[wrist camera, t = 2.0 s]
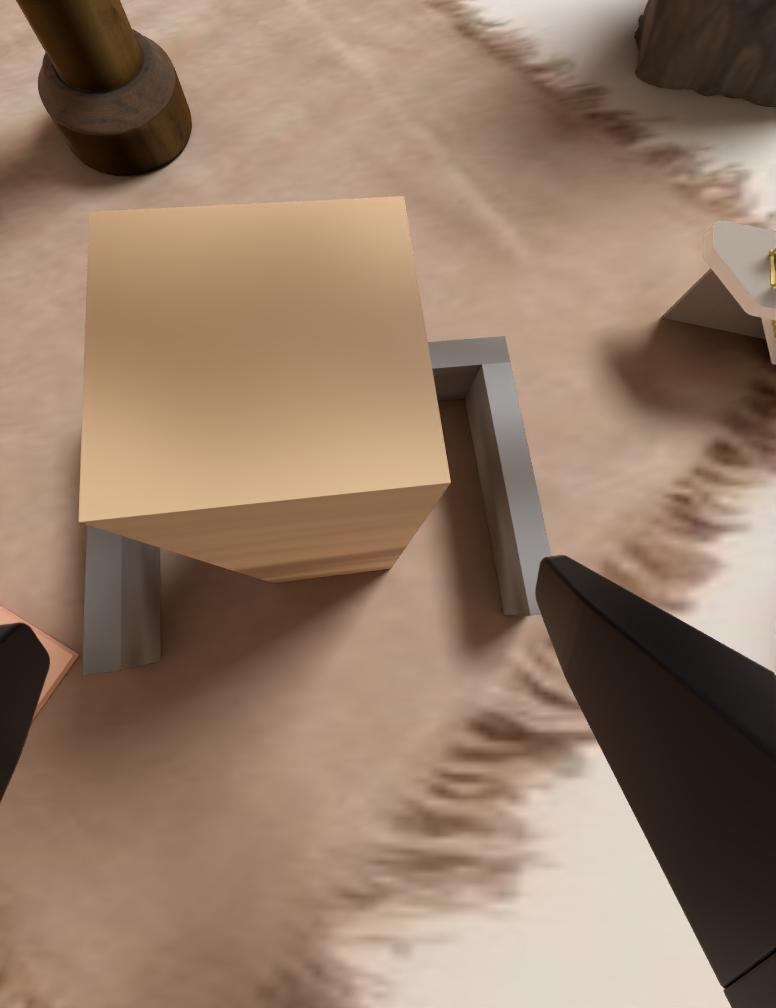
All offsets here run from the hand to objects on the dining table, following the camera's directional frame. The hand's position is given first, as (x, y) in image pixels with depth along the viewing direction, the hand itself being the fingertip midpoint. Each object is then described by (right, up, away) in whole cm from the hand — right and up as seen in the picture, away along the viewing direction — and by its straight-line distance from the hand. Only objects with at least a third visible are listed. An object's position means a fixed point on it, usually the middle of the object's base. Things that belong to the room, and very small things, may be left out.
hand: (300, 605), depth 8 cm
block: (-1, +1, +11) cm, 11 cm away
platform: (+19, +10, +15) cm, 27 cm away
